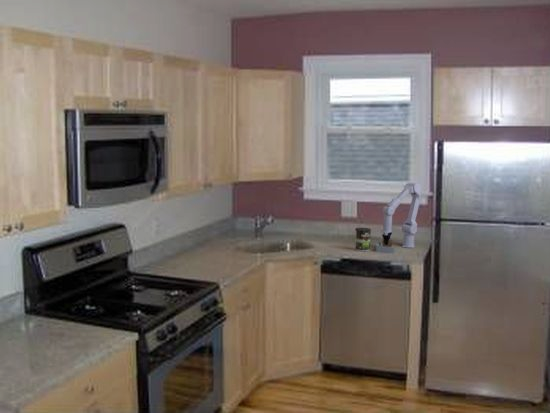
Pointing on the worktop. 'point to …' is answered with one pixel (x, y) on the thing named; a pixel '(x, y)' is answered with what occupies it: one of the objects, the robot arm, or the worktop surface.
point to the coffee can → (362, 239)
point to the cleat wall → (383, 248)
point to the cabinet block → (388, 243)
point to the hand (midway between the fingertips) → (386, 243)
